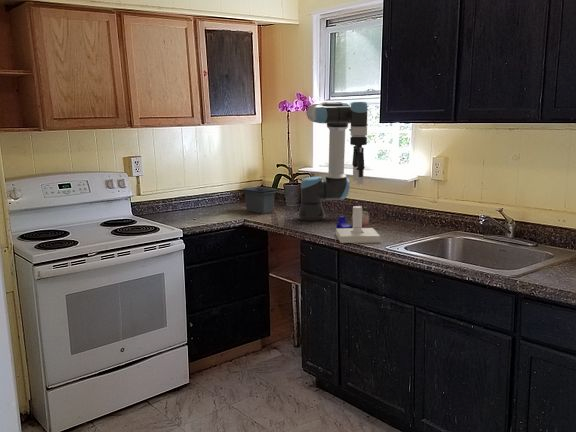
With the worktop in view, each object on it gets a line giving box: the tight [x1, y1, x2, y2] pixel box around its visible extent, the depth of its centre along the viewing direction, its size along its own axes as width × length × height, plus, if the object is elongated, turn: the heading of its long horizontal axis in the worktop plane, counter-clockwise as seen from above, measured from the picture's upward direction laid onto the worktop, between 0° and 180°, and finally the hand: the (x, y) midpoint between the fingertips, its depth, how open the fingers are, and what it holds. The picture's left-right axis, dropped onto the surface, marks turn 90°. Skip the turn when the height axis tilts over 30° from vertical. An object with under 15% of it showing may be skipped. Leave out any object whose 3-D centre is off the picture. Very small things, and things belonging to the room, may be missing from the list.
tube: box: [352, 205, 363, 233], centre depth 260 cm, size 4×4×15 cm
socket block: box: [335, 227, 381, 244], centre depth 261 cm, size 18×18×3 cm
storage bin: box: [242, 186, 277, 215], centre depth 335 cm, size 21×16×14 cm
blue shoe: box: [336, 215, 353, 228], centre depth 281 cm, size 12×4×6 cm, turn 40°
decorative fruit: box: [350, 210, 370, 228], centre depth 283 cm, size 9×8×10 cm
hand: (357, 182), depth 257 cm, fingers open, 13 cm apart
